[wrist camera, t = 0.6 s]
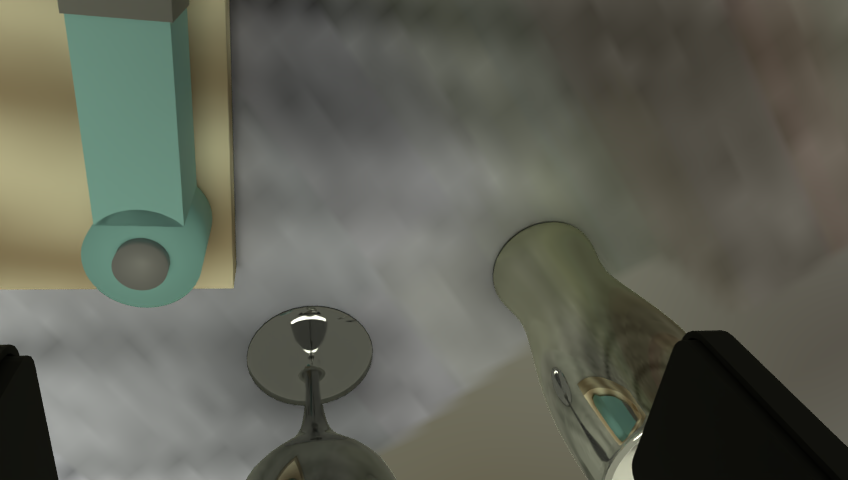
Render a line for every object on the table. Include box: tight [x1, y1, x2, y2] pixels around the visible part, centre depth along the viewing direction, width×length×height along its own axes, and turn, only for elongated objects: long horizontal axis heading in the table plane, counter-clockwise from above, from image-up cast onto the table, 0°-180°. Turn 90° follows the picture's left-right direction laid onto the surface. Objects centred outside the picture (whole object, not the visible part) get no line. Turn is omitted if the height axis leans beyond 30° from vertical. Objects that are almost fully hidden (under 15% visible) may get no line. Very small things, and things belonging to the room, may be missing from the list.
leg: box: [57, 0, 212, 308], centre depth 24 cm, size 14×4×5 cm, turn 173°
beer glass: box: [493, 222, 686, 480], centre depth 30 cm, size 7×7×15 cm
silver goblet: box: [246, 306, 396, 480], centre depth 30 cm, size 8×8×15 cm
